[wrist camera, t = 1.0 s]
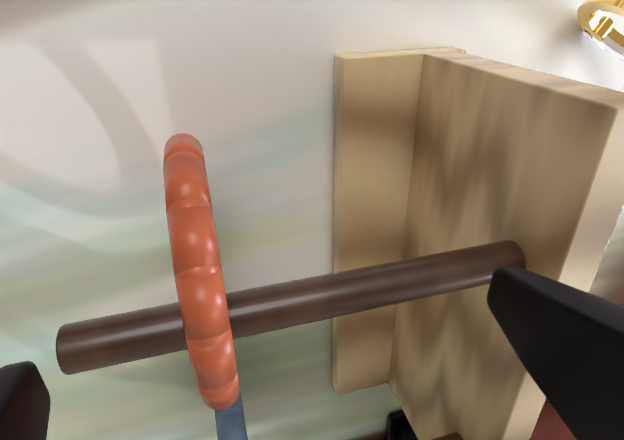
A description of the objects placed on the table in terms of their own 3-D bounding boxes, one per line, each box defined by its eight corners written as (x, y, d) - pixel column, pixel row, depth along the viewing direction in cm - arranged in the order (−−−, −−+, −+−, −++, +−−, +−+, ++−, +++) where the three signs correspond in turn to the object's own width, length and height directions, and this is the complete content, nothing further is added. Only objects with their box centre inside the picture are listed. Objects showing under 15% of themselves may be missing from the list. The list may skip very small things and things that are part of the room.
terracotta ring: (223, 287, 21) (252, 464, 14) (199, 291, 21) (214, 474, 13) (194, 103, 17) (212, 210, 9) (163, 106, 16) (153, 219, 9)
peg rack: (408, 362, 31) (505, 521, 22) (171, 422, 27) (170, 646, 18) (452, 46, 20) (683, 100, 11) (67, 70, 16) (-72, 185, 7)
